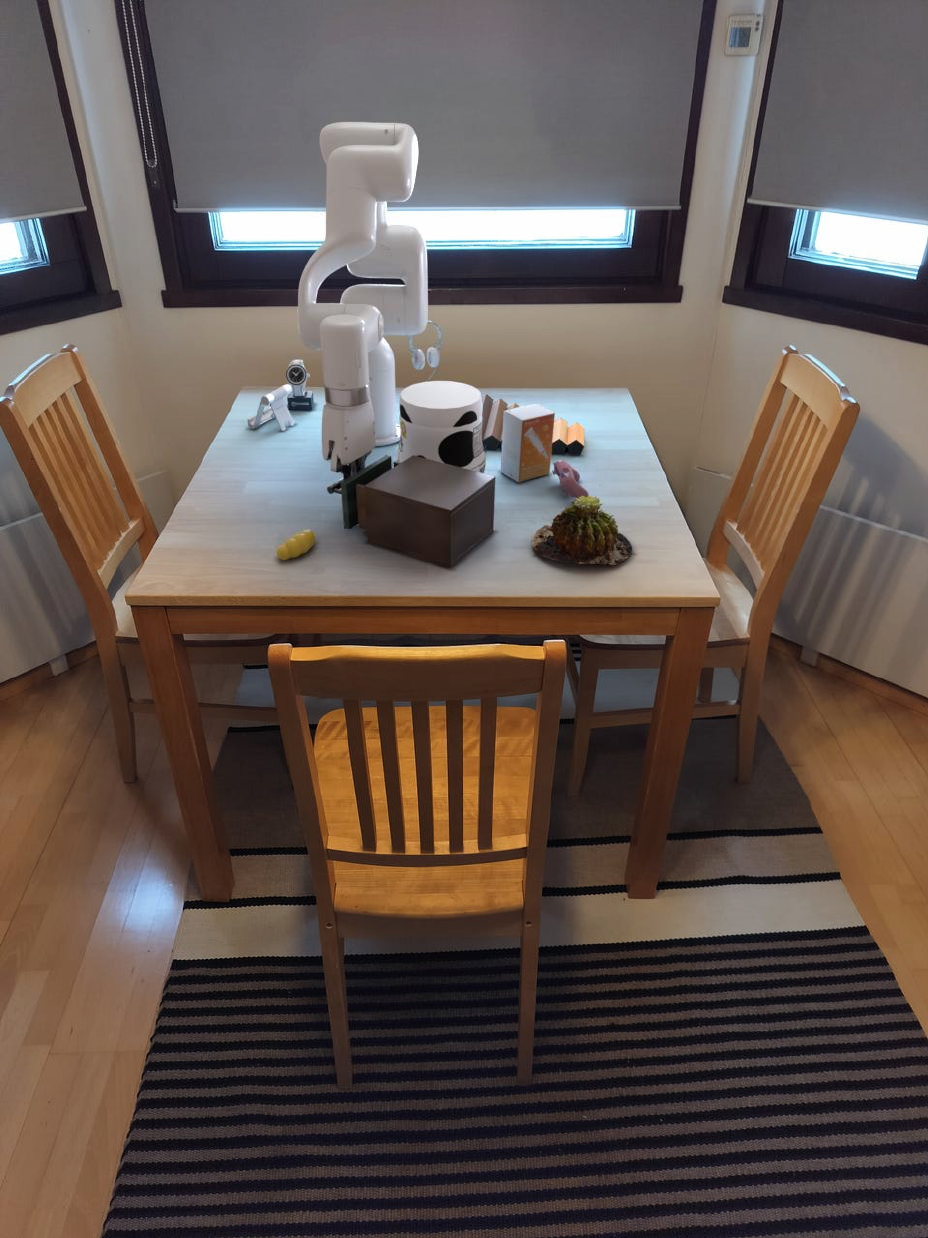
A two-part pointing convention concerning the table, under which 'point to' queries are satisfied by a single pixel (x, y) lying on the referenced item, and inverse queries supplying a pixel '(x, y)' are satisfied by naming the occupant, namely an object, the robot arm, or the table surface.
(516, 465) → the small box
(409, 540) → the cabinet
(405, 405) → the milk container
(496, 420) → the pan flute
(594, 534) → the cactus
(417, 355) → the headphones
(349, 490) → the drawer
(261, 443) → the table surface
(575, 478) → the video game controller
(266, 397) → the tablet stand
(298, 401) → the watch
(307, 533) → the yellow caterpillar toy
